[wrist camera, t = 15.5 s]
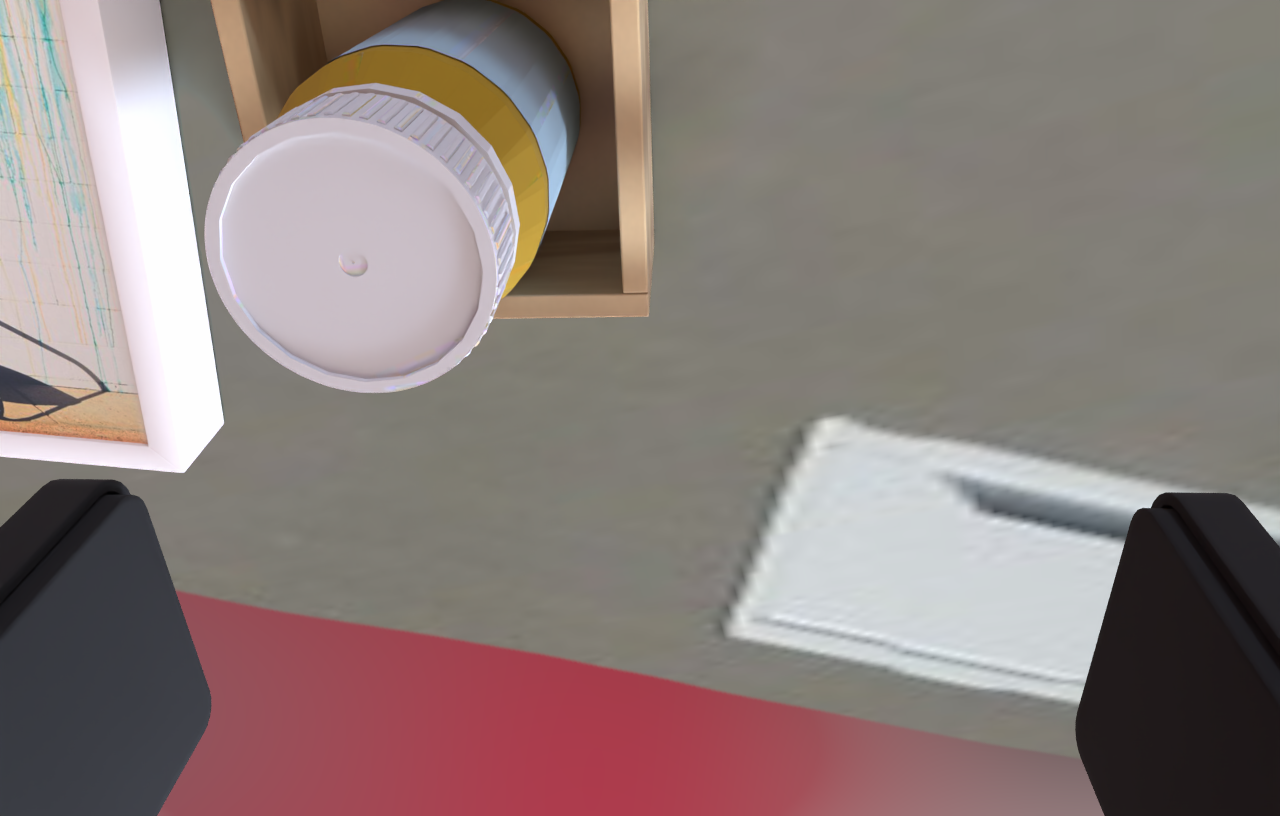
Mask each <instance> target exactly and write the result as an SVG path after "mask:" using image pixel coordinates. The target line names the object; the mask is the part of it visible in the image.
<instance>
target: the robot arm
mask: <svg viewBox="0 0 1280 816" xmlns="http://www.w3.org/2000/svg"><path fill="white" fill-rule="evenodd" d="M210 712H211V695H210V690H209V687H208V684H207V681H206V679H205V676H204V673H203V670H202V667H201V664H200V661H199V658H198V655H197V652H196V649H195V647H194V644H193V641H192V638H191V635H190V632H189V629H188V626H187V623H186V620H185V617H184V615H183V612H182V609H181V606H180V603H179V600H178V597H177V594H176V591H175V588H174V586H173V583H172V580H171V577H170V574H169V571H168V568H167V565H166V562H165V559H164V556H163V554H162V551H161V548H160V545H159V542H158V539H157V536H156V533H155V530H154V527H153V525H152V522H151V519H150V516H149V513H148V510H147V508H146V506H145V504H144V502H143V500H141V499H140V498H139V497H138V496H135V495H130V493H129V491H128V489H127V488H126V487H125V486H124V485H123V484H122V483H121V482H118V481H115V480H93V479H58V480H53V481H50V482H49V483H47V484H46V485H44V486H43V487H42V488H41V489H40V490H39V491H38V492H37V493H35V494H34V495H33V496H32V497H31V498H30V499H29V500H28V501H27V502H26V503H25V504H24V505H23V506H22V507H21V508H20V509H19V510H18V511H17V512H16V513H15V514H14V515H13V516H12V517H11V518H10V519H9V520H8V521H7V522H5V523H4V524H3V525H2V526H1V527H0V816H157V815H158V813H159V811H160V809H161V808H162V806H163V804H164V802H165V800H166V799H167V797H168V795H169V793H170V792H171V790H172V788H173V786H174V785H175V783H176V781H177V779H178V777H179V776H180V774H181V772H182V771H183V769H184V767H185V765H186V764H187V762H188V760H189V758H190V756H191V755H192V753H193V751H194V749H195V748H196V746H197V744H198V742H199V740H200V739H201V737H202V735H203V733H204V731H205V729H206V727H207V725H208V721H209V718H210ZM1075 730H1076V741H1077V746H1078V750H1079V754H1080V757H1081V759H1082V762H1083V764H1084V767H1085V769H1086V771H1087V774H1088V776H1089V779H1090V781H1091V784H1092V786H1093V789H1094V791H1095V794H1096V796H1097V798H1098V801H1099V803H1100V806H1101V808H1102V811H1103V813H1104V815H1105V816H1280V547H1279V546H1278V545H1277V543H1276V542H1275V541H1274V540H1273V538H1272V537H1271V536H1270V535H1269V534H1268V532H1267V531H1266V530H1265V529H1264V527H1263V526H1262V525H1261V524H1260V523H1259V521H1258V520H1257V519H1256V518H1255V516H1254V515H1253V514H1252V513H1251V512H1250V510H1249V509H1248V508H1247V507H1246V505H1245V504H1244V503H1243V502H1242V501H1241V500H1240V499H1239V498H1238V497H1236V496H1235V495H1232V494H1228V493H1163V494H1161V495H1159V496H1158V497H1157V498H1156V500H1155V501H1154V502H1153V504H1152V507H1151V508H1142V509H1139V510H1137V512H1136V513H1135V514H1134V516H1133V518H1132V520H1131V523H1130V527H1129V530H1128V534H1127V537H1126V541H1125V545H1124V548H1123V552H1122V555H1121V559H1120V562H1119V566H1118V569H1117V573H1116V577H1115V580H1114V584H1113V587H1112V591H1111V594H1110V598H1109V601H1108V605H1107V609H1106V612H1105V616H1104V619H1103V623H1102V626H1101V630H1100V633H1099V637H1098V641H1097V644H1096V648H1095V651H1094V655H1093V658H1092V662H1091V666H1090V669H1089V673H1088V676H1087V680H1086V683H1085V687H1084V690H1083V694H1082V698H1081V701H1080V705H1079V708H1078V712H1077V717H1076V729H1075Z"/></svg>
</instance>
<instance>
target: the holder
mask: <svg viewBox="0 0 1280 816" xmlns="http://www.w3.org/2000/svg"><path fill="white" fill-rule="evenodd" d="M440 1H443V0H211V4H212V8H213V12H214V17H215V21H216V25H217V29H218V34H219V38H220V42H221V47H222V51H223V55H224V59H225V64H226V68H227V72H228V76H229V81H230V85H231V89H232V94H233V98H234V102H235V106H236V111H237V115H238V119H239V124H240V128H241V132H242V136H243V141H244V143H245V142H246V141H248V140H249V137H251V136H252V135H254V134H255V133H257V132H258V131H260V130H261V129H263V128H264V127H266V126H267V125H269V124H270V123H272V122H273V121H275V120H276V119H277V117H278V116H279V114H280V112H281V110H282V109H283V107H284V105H285V103H286V102H287V100H288V98H289V96H290V95H291V94H292V93H293V92H294V90H295V89H296V88H297V87H298V86H299V85H300V84H302V83H303V82H304V81H305V80H307V79H308V78H309V77H310V76H312V75H313V74H314V73H315V72H317V71H318V70H319V69H320V68H322V67H323V66H324V65H326V64H327V63H328V62H329V61H331V60H333V59H334V58H336V57H338V56H339V55H341V54H343V53H344V52H346V51H348V50H350V49H351V48H353V47H355V46H356V45H358V44H360V43H362V42H363V41H365V40H367V39H368V38H370V37H372V36H373V35H375V34H377V33H379V32H380V31H382V30H384V29H385V28H387V27H389V26H390V25H392V24H394V23H396V22H397V21H399V20H401V19H402V18H404V17H406V16H408V15H409V14H411V13H413V12H414V11H416V10H418V9H420V8H422V7H424V6H427V5H430V4H433V3H437V2H440ZM496 1H498V2H501V3H504V4H506V5H509V6H511V7H514V8H517V9H519V10H520V11H522V12H524V13H526V14H527V15H528V16H529V17H531V18H532V19H533V20H534V21H536V22H537V23H538V24H539V25H541V26H542V27H543V28H544V29H546V30H547V31H548V32H549V33H550V35H551V36H552V37H553V38H554V39H555V41H556V42H557V44H558V45H559V47H560V48H561V50H562V51H563V53H564V54H565V56H566V57H567V59H568V61H569V63H570V65H571V67H572V70H573V73H574V76H575V80H576V83H577V86H578V89H579V94H580V100H581V113H580V131H579V136H578V140H577V143H576V146H575V149H574V152H573V155H572V159H571V161H570V164H569V167H568V170H567V173H566V175H565V178H564V181H563V184H562V186H561V189H560V192H559V195H558V197H557V200H556V203H555V206H554V208H553V211H552V214H551V217H550V219H549V222H548V225H547V228H546V230H545V233H544V236H543V239H542V241H541V244H540V247H539V250H538V252H537V254H536V256H535V258H534V260H533V262H532V263H531V265H530V267H529V269H528V270H527V271H526V272H525V274H524V275H523V276H522V278H521V279H520V280H519V281H518V283H517V284H516V285H515V287H514V288H513V289H512V290H511V291H510V292H509V293H508V294H507V295H506V296H505V297H503V298H502V299H500V302H499V304H498V307H497V309H496V312H495V314H494V317H493V319H501V318H571V317H641V316H649V308H650V294H651V281H652V267H653V254H654V211H653V174H652V137H651V100H650V63H649V26H648V0H496Z"/></svg>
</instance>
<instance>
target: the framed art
mask: <svg viewBox="0 0 1280 816" xmlns="http://www.w3.org/2000/svg"><path fill="white" fill-rule="evenodd" d="M223 424H224V418H223V412H222V405H221V399H220V392H219V386H218V379H217V373H216V366H215V360H214V353H213V347H212V340H211V334H210V327H209V321H208V314H207V307H206V301H205V294H204V288H203V281H202V275H201V268H200V262H199V255H198V249H197V242H196V236H195V229H194V223H193V216H192V210H191V203H190V196H189V190H188V183H187V177H186V170H185V164H184V157H183V151H182V144H181V138H180V131H179V125H178V118H177V112H176V105H175V99H174V92H173V85H172V79H171V72H170V66H169V59H168V53H167V46H166V40H165V33H164V27H163V20H162V14H161V7H160V1H159V0H0V456H2V457H13V458H24V459H35V460H46V461H57V462H68V463H79V464H90V465H102V466H113V467H124V468H135V469H146V470H157V471H168V472H179V473H184V472H185V471H186V470H187V469H188V467H189V466H190V465H191V464H192V462H193V461H194V460H195V459H196V457H197V456H198V455H199V454H200V453H201V451H202V450H203V449H204V448H205V446H206V445H207V444H208V443H209V441H210V440H211V439H212V438H213V436H214V435H215V434H216V433H217V432H218V430H219V429H220V428H221V427H222V425H223Z"/></svg>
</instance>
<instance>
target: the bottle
mask: <svg viewBox="0 0 1280 816" xmlns="http://www.w3.org/2000/svg"><path fill="white" fill-rule="evenodd" d="M580 113H581V100H580V94H579V89H578V86H577V83H576V80H575V76H574V73H573V70H572V67H571V65H570V63H569V61H568V59H567V57H566V56H565V54H564V53H563V51H562V50H561V48H560V47H559V45H558V44H557V42H556V41H555V39H554V38H553V37H552V36H551V35H550V33H549V32H548V31H547V30H546V29H544V28H543V27H542V26H541V25H539V24H538V23H537V22H536V21H534V20H533V19H532V18H531V17H529V16H528V15H527V14H526V13H524V12H522V11H520V10H519V9H517V8H514V7H511V6H509V5H506V4H504V3H501V2H498V1H496V0H443V1H440V2H437V3H433V4H430V5H427V6H424V7H422V8H420V9H418V10H416V11H414V12H413V13H411V14H409V15H408V16H406V17H404V18H402V19H401V20H399V21H397V22H396V23H394V24H392V25H390V26H389V27H387V28H385V29H384V30H382V31H380V32H379V33H377V34H375V35H373V36H372V37H370V38H368V39H367V40H365V41H363V42H362V43H360V44H358V45H356V46H355V47H353V48H351V49H350V50H348V51H346V52H344V53H343V54H341V55H339V56H338V57H336V58H334V59H333V60H331V61H329V62H328V63H327V64H326V65H324V66H323V67H322V68H320V69H319V70H318V71H317V72H315V73H314V74H313V75H312V76H310V77H309V78H308V79H307V80H305V81H304V82H303V83H302V84H300V85H299V86H298V87H297V88H296V89H295V90H294V92H293V93H292V94H291V95H290V96H289V98H288V100H287V102H286V103H285V105H284V107H283V109H282V110H281V112H280V114H279V116H278V117H277V119H276V120H275V121H273V122H272V123H270V124H269V125H267V126H266V127H264V128H263V129H261V130H260V131H258V132H257V133H255V134H254V135H252V136H251V137H249V140H248V141H246V142H245V143H243V144H242V145H240V146H239V147H238V148H237V152H236V153H235V154H233V155H232V156H230V157H229V159H228V160H227V165H226V166H225V167H224V168H223V169H221V171H220V173H219V177H218V179H217V181H216V183H215V184H214V186H213V190H212V193H211V196H210V199H209V203H208V207H207V212H206V219H205V248H206V255H207V260H208V265H209V269H210V272H211V275H212V278H213V281H214V284H215V286H216V289H217V291H218V293H219V295H220V297H221V299H222V301H223V303H224V305H225V306H226V308H227V310H228V311H229V313H230V314H231V316H232V317H233V319H234V320H235V321H236V323H237V324H238V325H239V327H240V328H241V329H242V330H243V331H244V333H245V334H246V335H247V336H248V337H249V338H250V339H251V340H252V341H253V342H254V343H255V344H256V345H257V346H258V347H259V348H261V349H262V350H263V351H264V352H265V353H266V354H268V355H269V356H270V357H272V358H273V359H274V360H276V361H277V362H279V363H280V364H282V365H283V366H285V367H286V368H288V369H290V370H292V371H293V372H295V373H297V374H299V375H301V376H303V377H305V378H307V379H310V380H312V381H315V382H317V383H320V384H323V385H326V386H330V387H333V388H337V389H342V390H347V391H353V392H363V393H385V392H394V391H400V390H405V389H409V388H413V387H416V386H419V385H422V384H425V383H427V382H429V381H432V380H434V379H436V378H437V377H439V376H441V375H443V374H444V373H446V372H447V371H449V370H450V369H452V368H453V367H454V366H455V365H458V364H459V363H460V361H461V360H462V359H463V358H464V357H466V356H468V355H469V354H470V353H471V350H472V348H473V347H475V346H477V345H478V343H479V342H480V340H481V337H482V335H484V334H485V333H486V331H487V329H488V327H489V324H490V322H491V321H492V319H493V317H494V314H495V312H496V309H497V307H498V304H499V302H500V299H502V298H503V297H505V296H506V295H507V294H508V293H509V292H510V291H511V290H512V289H513V288H514V287H515V285H516V284H517V283H518V281H519V280H520V279H521V278H522V276H523V275H524V274H525V272H526V271H527V270H528V269H529V267H530V265H531V263H532V262H533V260H534V258H535V256H536V254H537V252H538V250H539V247H540V244H541V241H542V239H543V236H544V233H545V230H546V228H547V225H548V222H549V219H550V217H551V214H552V211H553V208H554V206H555V203H556V200H557V197H558V195H559V192H560V189H561V186H562V184H563V181H564V178H565V175H566V173H567V170H568V167H569V164H570V161H571V159H572V155H573V152H574V149H575V146H576V143H577V140H578V136H579V131H580Z"/></svg>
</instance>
